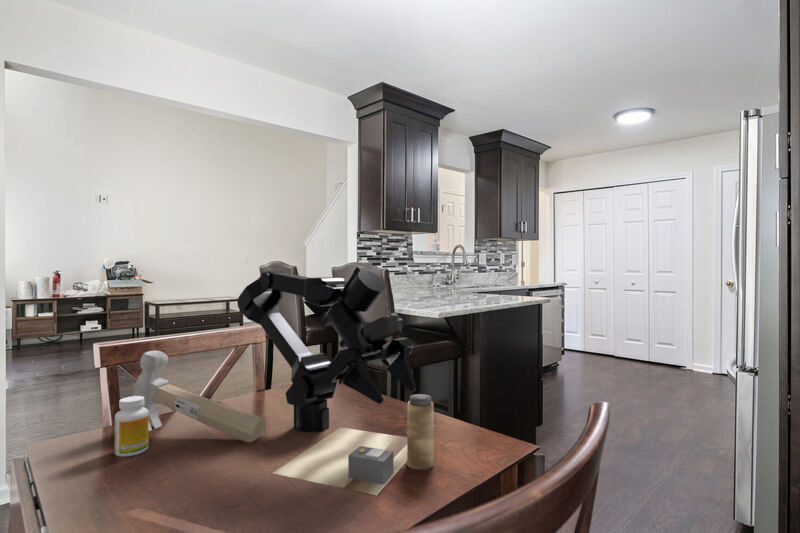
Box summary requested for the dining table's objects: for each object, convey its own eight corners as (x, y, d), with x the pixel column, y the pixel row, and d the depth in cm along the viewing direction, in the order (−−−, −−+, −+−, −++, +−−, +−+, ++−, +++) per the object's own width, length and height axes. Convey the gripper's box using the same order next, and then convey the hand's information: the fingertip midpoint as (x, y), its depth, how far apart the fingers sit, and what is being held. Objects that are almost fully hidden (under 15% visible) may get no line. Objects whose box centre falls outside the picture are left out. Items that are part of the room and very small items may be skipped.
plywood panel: (272, 478, 71) (272, 473, 71) (340, 431, 91) (340, 427, 91) (376, 500, 64) (376, 495, 64) (425, 444, 84) (425, 440, 84)
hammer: (273, 390, 87) (157, 348, 95) (259, 397, 82) (138, 352, 91) (258, 466, 88) (144, 417, 96) (243, 476, 83) (124, 424, 92)
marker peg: (403, 471, 73) (403, 399, 73) (412, 461, 77) (413, 392, 77) (428, 476, 71) (428, 402, 71) (436, 465, 75) (437, 395, 75)
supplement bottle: (155, 448, 83) (155, 396, 83) (126, 459, 78) (127, 404, 78) (136, 443, 85) (136, 393, 85) (107, 454, 80) (108, 400, 80)
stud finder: (348, 477, 69) (348, 453, 69) (360, 466, 73) (360, 444, 73) (383, 484, 67) (383, 459, 67) (393, 473, 71) (393, 449, 71)
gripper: (338, 302, 73) (390, 378, 66) (406, 296, 88) (454, 358, 81) (307, 345, 78) (352, 420, 71) (376, 333, 92) (419, 394, 86)
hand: (398, 396), depth 77 cm, fingers open, 9 cm apart
